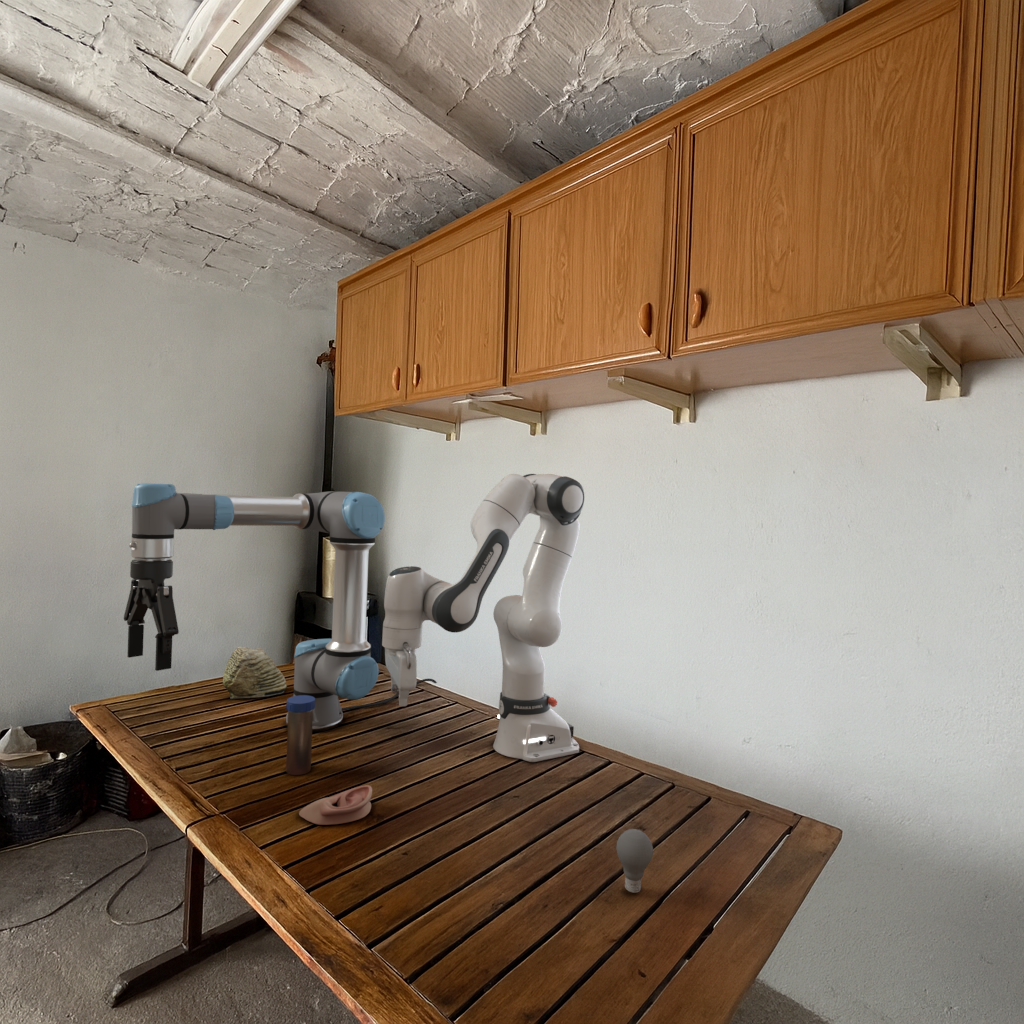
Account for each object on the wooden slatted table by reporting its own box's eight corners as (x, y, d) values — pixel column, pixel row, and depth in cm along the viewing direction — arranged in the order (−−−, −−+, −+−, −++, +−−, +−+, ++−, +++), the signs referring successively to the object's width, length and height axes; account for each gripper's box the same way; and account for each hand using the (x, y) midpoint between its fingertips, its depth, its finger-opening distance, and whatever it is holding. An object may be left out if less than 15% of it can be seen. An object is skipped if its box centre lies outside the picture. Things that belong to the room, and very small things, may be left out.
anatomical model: (291, 800, 123) (320, 775, 134) (290, 820, 123) (320, 794, 134) (354, 810, 120) (379, 784, 132) (353, 830, 121) (378, 803, 132)
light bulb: (610, 879, 108) (613, 822, 108) (644, 879, 109) (647, 822, 109) (619, 902, 102) (622, 840, 102) (655, 901, 103) (658, 840, 103)
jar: (302, 763, 150) (304, 696, 150) (315, 770, 147) (318, 701, 146) (281, 770, 146) (283, 701, 145) (294, 777, 142) (297, 706, 142)
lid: (305, 702, 150) (305, 693, 150) (320, 708, 146) (320, 699, 146) (280, 708, 145) (281, 699, 145) (296, 714, 141) (296, 705, 141)
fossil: (218, 695, 195) (220, 647, 195) (278, 685, 208) (279, 640, 207) (228, 703, 189) (230, 653, 188) (289, 692, 201) (290, 645, 201)
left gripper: (108, 554, 134) (104, 654, 134) (159, 565, 118) (155, 678, 119) (146, 552, 140) (143, 648, 140) (199, 563, 124) (195, 671, 124)
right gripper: (425, 648, 135) (421, 712, 135) (407, 628, 154) (404, 685, 155) (395, 649, 133) (392, 714, 133) (381, 629, 152) (378, 686, 152)
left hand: (148, 662), depth 129 cm, fingers open, 13 cm apart
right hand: (398, 698), depth 144 cm, fingers open, 8 cm apart
